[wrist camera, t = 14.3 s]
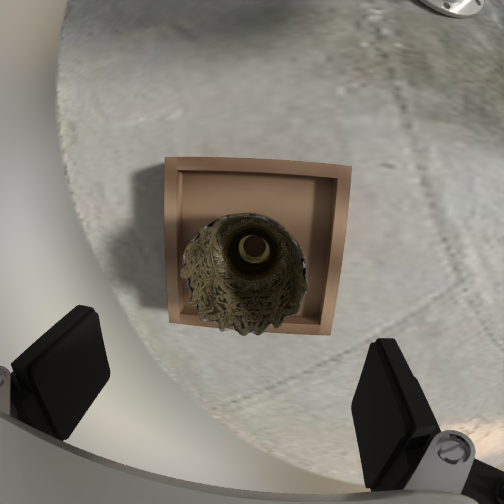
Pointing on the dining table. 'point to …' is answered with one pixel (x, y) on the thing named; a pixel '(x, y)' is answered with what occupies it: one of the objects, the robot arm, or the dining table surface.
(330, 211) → the shallow wooden tray
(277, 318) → the cup
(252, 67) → the dining table surface
